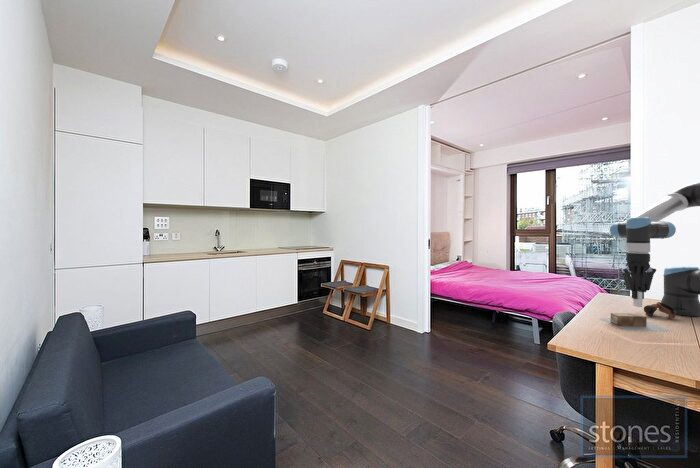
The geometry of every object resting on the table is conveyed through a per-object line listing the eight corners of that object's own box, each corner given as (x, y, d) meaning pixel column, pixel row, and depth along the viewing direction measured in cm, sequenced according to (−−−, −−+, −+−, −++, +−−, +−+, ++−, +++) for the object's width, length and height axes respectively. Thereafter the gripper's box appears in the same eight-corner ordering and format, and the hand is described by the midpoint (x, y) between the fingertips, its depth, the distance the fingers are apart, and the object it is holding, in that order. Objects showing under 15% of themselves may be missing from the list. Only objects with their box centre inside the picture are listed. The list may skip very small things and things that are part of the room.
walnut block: (637, 313, 132) (610, 313, 133) (646, 316, 127) (618, 316, 128) (637, 323, 132) (610, 322, 133) (646, 326, 127) (618, 326, 128)
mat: (640, 320, 138) (640, 319, 138) (673, 332, 122) (673, 331, 122) (598, 319, 140) (598, 318, 140) (625, 331, 124) (625, 330, 124)
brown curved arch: (654, 314, 148) (666, 302, 144) (671, 328, 139) (685, 316, 135) (632, 309, 147) (644, 296, 143) (649, 323, 138) (662, 310, 135)
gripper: (646, 251, 132) (646, 304, 132) (614, 251, 133) (614, 303, 134) (662, 253, 124) (662, 308, 125) (628, 253, 126) (628, 308, 126)
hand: (637, 306), depth 129 cm, fingers closed
